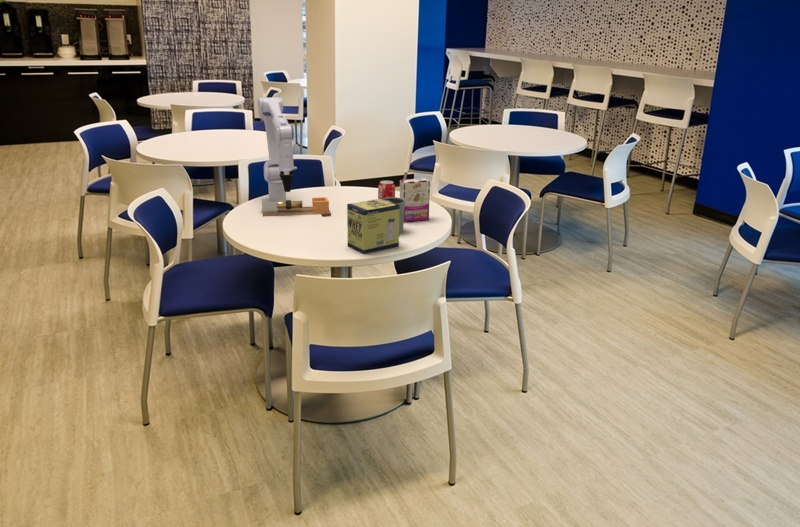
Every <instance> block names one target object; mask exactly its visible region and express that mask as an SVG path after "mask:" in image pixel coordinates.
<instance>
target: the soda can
mask: <svg viewBox="0 0 800 527" xmlns="http://www.w3.org/2000/svg"><path fill="white" fill-rule="evenodd" d="M386 197H396V185H395V183H394V181H393V180H380V181H379V184H378V186H377V199H380V198H386Z"/></svg>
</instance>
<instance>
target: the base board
mask: <svg viewBox="0 0 800 527" xmlns="http://www.w3.org/2000/svg"><path fill="white" fill-rule="evenodd" d="M309 215H311V216H313V215H314V216H315V215H321V217H322V216H323V217H332V213H331V211H330V209H329V212H316V213H314V211H313V206H302V208H291V209H286V208H278V213H272V214H262V217H284V216H286V217H287V216H309Z"/></svg>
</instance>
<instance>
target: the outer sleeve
mask: <svg viewBox="0 0 800 527" xmlns="http://www.w3.org/2000/svg"><path fill="white" fill-rule="evenodd" d="M261 211H262V213H261V214H262V215H263V214H272V213H278V208H277V199H268V198H262V199H261Z"/></svg>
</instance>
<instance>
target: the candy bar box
mask: <svg viewBox="0 0 800 527" xmlns="http://www.w3.org/2000/svg"><path fill="white" fill-rule="evenodd" d="M430 182H431V180H430V179H428V178H426V177H423V178H422V177H420V178H410V179H409V178H407V179H400V180H399V198H402V199H404V200H405V208H404V222H405V223H415V222H423V221H429V220H430V193H431V192H430V191H431V190H430V187H431V183H430ZM414 221H415V222H414Z"/></svg>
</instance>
